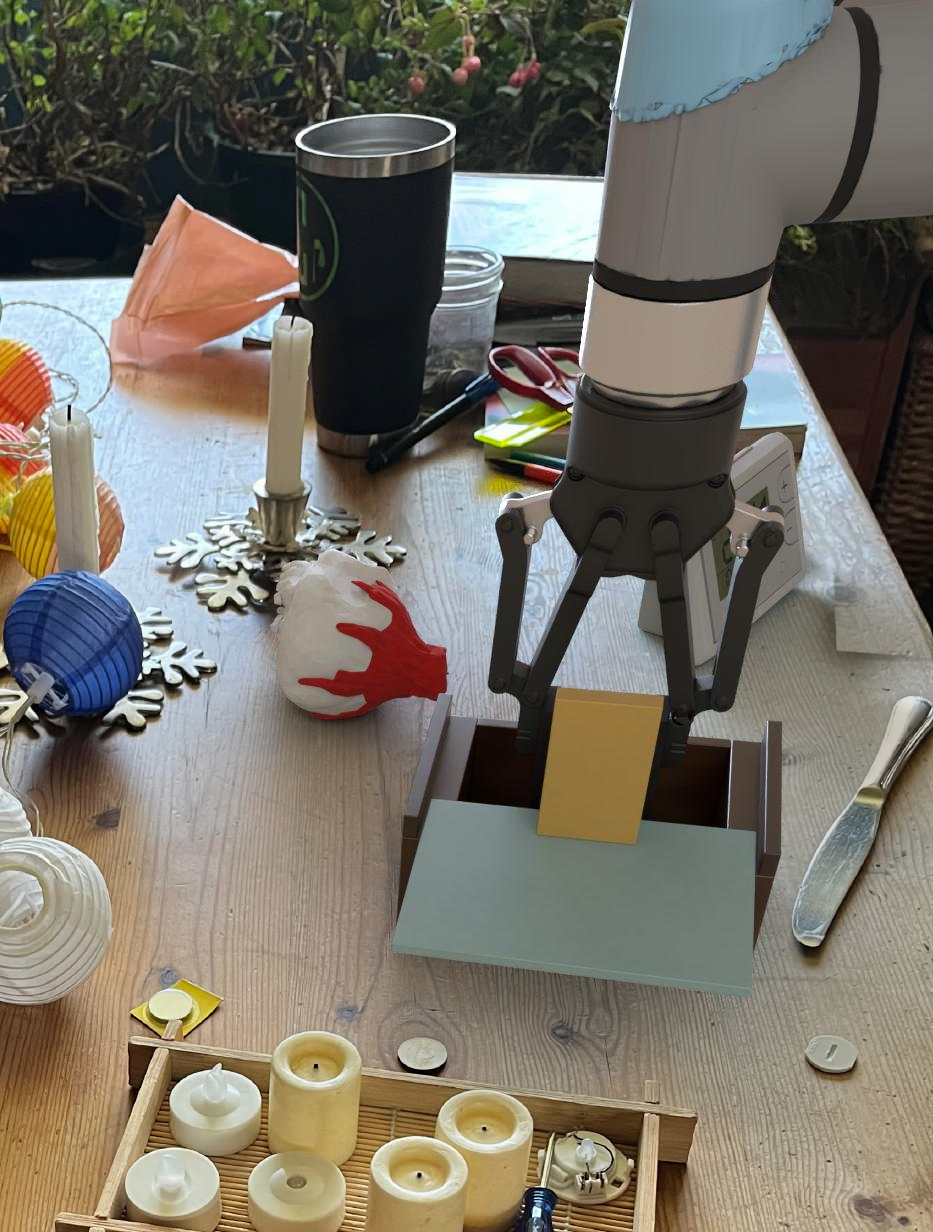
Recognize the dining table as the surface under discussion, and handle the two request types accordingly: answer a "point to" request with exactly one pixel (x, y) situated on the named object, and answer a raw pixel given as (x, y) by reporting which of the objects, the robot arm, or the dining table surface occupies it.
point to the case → (692, 795)
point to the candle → (349, 639)
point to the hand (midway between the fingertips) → (588, 805)
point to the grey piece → (586, 869)
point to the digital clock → (757, 482)
